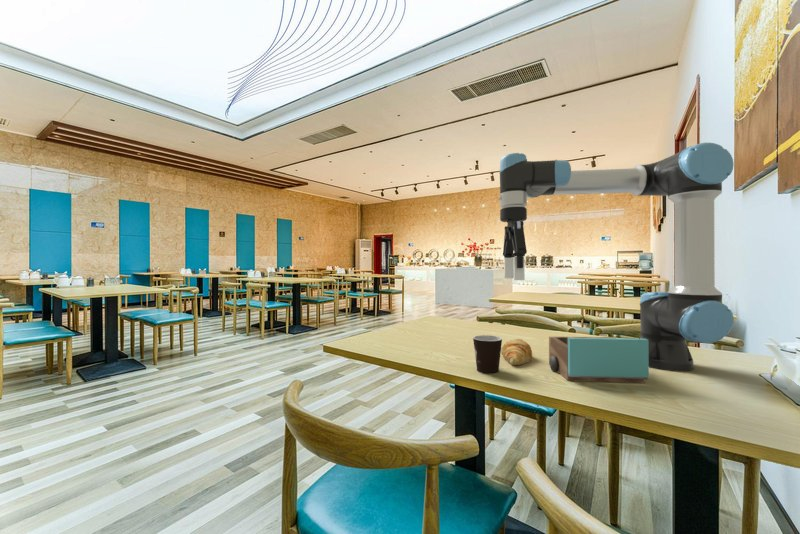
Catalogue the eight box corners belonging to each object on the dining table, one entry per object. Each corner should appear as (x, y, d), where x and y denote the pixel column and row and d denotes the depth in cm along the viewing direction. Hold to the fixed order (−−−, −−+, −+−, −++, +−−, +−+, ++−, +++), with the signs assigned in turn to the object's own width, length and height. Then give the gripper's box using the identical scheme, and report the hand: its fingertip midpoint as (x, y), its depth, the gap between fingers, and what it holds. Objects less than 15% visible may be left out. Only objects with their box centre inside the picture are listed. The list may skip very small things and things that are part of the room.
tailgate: (645, 377, 94) (645, 338, 94) (648, 379, 92) (648, 339, 92) (567, 376, 96) (567, 337, 96) (570, 377, 95) (569, 338, 95)
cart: (619, 365, 110) (618, 337, 110) (649, 382, 94) (649, 349, 94) (544, 364, 112) (544, 336, 112) (562, 380, 97) (562, 348, 97)
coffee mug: (498, 376, 100) (498, 342, 100) (469, 372, 105) (469, 339, 105) (507, 366, 110) (507, 335, 110) (480, 362, 115) (480, 332, 115)
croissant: (523, 379, 108) (536, 358, 107) (494, 361, 112) (506, 340, 110) (526, 360, 128) (537, 342, 126) (501, 346, 131) (511, 328, 130)
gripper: (493, 214, 116) (494, 277, 116) (508, 200, 91) (509, 281, 91) (516, 213, 115) (517, 277, 115) (538, 199, 90) (539, 281, 91)
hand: (513, 279), depth 103 cm, fingers open, 13 cm apart
